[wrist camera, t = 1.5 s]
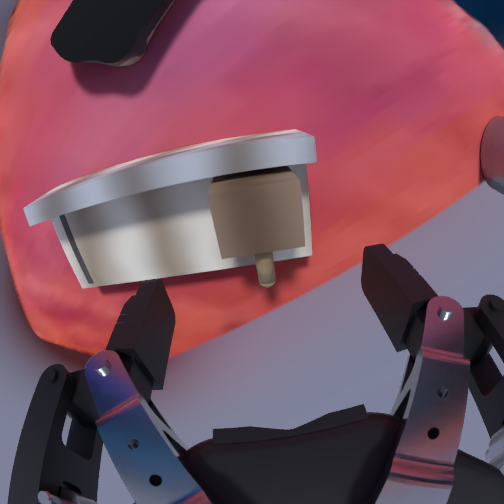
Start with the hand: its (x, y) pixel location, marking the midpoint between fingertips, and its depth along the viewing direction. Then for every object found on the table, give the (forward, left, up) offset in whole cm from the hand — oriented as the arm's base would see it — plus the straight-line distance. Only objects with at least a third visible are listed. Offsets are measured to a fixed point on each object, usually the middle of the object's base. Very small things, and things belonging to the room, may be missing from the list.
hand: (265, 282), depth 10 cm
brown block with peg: (0, +2, -10) cm, 11 cm away
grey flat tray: (+7, +1, -13) cm, 15 cm away
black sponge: (+6, -20, -14) cm, 25 cm away
